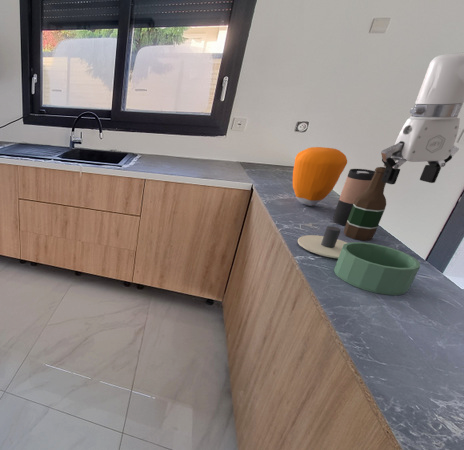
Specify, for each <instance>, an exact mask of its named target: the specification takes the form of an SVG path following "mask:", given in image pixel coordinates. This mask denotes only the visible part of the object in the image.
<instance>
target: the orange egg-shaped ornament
mask: <svg viewBox="0 0 464 450" xmlns="http://www.w3.org/2000/svg"><path fill="white" fill-rule="evenodd" d="M347 164H348V157H347V156H346V155H345V154H344V153H343V152H342V151H341V150H340V149H337V148H333V147H324V146H312V147H307V148H305V149H303V150H301V151H299V152H298V153H297V154H296V155H295V158H294V163H293V169H292V189H293V191H294V194H295V198H296V199H297V201H298V203H300V204H303V205H306V206H309V207H311V206H312V207H313V206H315V205H317V204H318V203H319V202H320V201H322V200H324V199H325V198H326V197H327V196H328V195H329V194H330V193H331V192H332V191H333V189H334V188H335V186H336V184H337V183H338V181H339V180H340V176H341V175H342V173H343V172H344V170H345V168H346V167H347Z"/></svg>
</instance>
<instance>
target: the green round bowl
mask: <svg viewBox="0 0 464 450" xmlns="http://www.w3.org/2000/svg"><path fill="white" fill-rule="evenodd" d="M420 268H421V263H420V261H419V260H418V259H416V258H415V257H414V256H412V255H411V254H408V253H406V252H404V251H402V250H399V249H395V248H393V247H390V246H386V245H381V244H376V243H371V242H365V241H364V242H363V241H350V242H347V244H344V245H343V247H342V250H341V253H340V255H339V258H338V259H337V261H336V263H335V266H334V269H333V272H334V274H335V275H336V276H337V277H338V278H339V279H340V280H342V281H344V282H345V283H347V284H349V285H351V286H353V287H355V288H358V289H361V290H364V291H367V292H371V293H375V294H381V295H386V296H400V295H405V294H406V293H407V292H408V291H409V290H410V288H411V286H412V284H413V282H414V279H415V278H416V276H417V274H418V272H419V270H420Z"/></svg>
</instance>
